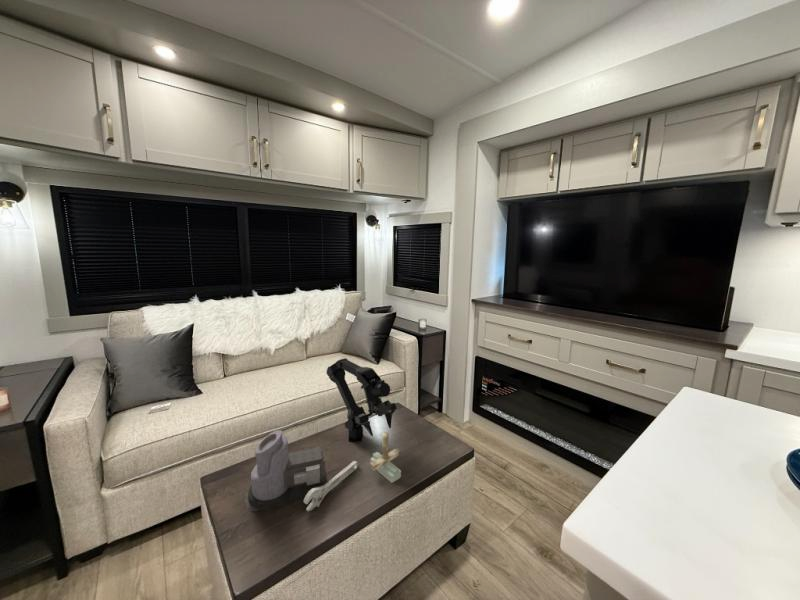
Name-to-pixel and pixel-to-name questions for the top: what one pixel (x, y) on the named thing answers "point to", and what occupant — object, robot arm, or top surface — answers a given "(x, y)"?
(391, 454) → the rubber stamp
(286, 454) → the juicer
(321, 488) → the wrench
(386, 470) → the ridge
